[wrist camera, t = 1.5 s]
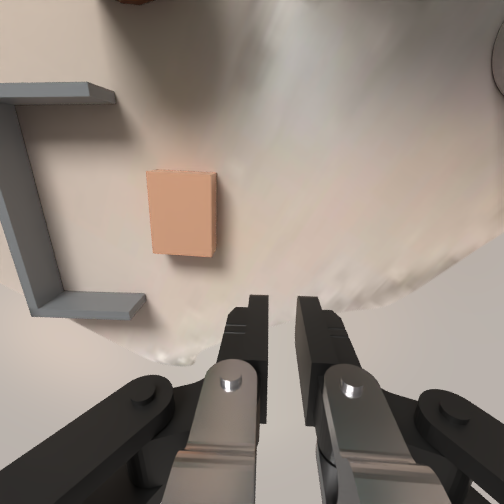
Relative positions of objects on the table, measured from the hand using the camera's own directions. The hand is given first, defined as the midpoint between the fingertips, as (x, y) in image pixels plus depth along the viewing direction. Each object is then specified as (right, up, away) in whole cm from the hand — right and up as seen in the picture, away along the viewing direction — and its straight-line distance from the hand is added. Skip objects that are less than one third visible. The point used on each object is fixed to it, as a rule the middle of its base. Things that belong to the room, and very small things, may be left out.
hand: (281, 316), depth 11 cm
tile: (-8, +7, +19) cm, 21 cm away
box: (-19, +7, +19) cm, 28 cm away
